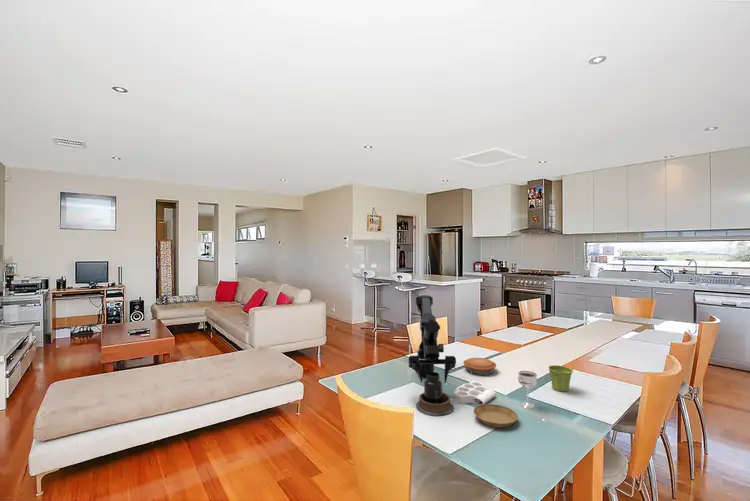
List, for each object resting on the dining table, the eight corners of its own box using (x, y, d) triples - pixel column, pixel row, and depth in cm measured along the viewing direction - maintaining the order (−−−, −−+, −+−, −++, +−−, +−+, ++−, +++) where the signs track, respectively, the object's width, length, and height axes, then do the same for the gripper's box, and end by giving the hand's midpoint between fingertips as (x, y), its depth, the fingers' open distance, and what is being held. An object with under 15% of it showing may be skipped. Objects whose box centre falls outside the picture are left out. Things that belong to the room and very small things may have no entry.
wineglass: (535, 410, 133) (535, 378, 132) (516, 406, 136) (516, 374, 136) (538, 403, 138) (538, 372, 138) (519, 399, 142) (519, 369, 142)
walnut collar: (441, 397, 145) (441, 388, 145) (461, 412, 132) (461, 402, 132) (410, 402, 140) (410, 393, 140) (427, 418, 127) (427, 408, 127)
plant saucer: (465, 420, 126) (465, 413, 126) (486, 407, 137) (486, 400, 137) (505, 436, 116) (505, 428, 116) (524, 420, 126) (524, 412, 126)
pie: (500, 376, 167) (500, 366, 167) (467, 376, 168) (467, 366, 167) (490, 365, 183) (490, 355, 183) (460, 365, 183) (460, 355, 183)
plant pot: (552, 383, 159) (552, 363, 159) (576, 389, 152) (576, 368, 152) (544, 389, 152) (544, 368, 152) (568, 395, 145) (568, 374, 145)
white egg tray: (479, 410, 134) (445, 399, 144) (499, 395, 147) (467, 386, 157) (479, 401, 134) (445, 391, 144) (499, 387, 147) (467, 378, 157)
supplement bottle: (440, 401, 140) (440, 370, 139) (443, 409, 133) (443, 377, 133) (423, 401, 140) (423, 370, 140) (425, 409, 133) (425, 377, 133)
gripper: (408, 336, 145) (410, 373, 134) (455, 336, 144) (460, 373, 133) (408, 349, 153) (409, 385, 142) (452, 349, 152) (456, 386, 141)
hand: (433, 382), depth 140 cm, fingers open, 9 cm apart
